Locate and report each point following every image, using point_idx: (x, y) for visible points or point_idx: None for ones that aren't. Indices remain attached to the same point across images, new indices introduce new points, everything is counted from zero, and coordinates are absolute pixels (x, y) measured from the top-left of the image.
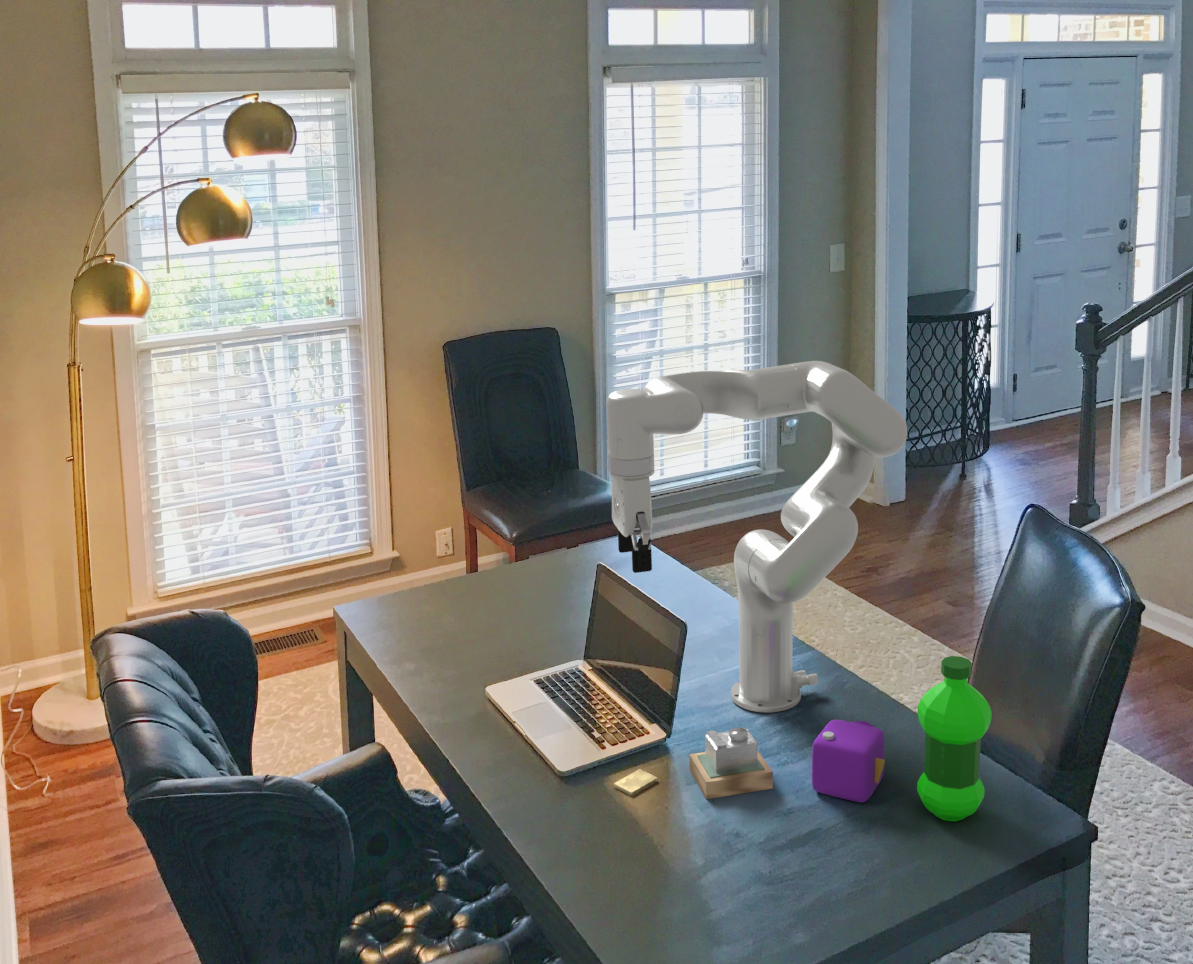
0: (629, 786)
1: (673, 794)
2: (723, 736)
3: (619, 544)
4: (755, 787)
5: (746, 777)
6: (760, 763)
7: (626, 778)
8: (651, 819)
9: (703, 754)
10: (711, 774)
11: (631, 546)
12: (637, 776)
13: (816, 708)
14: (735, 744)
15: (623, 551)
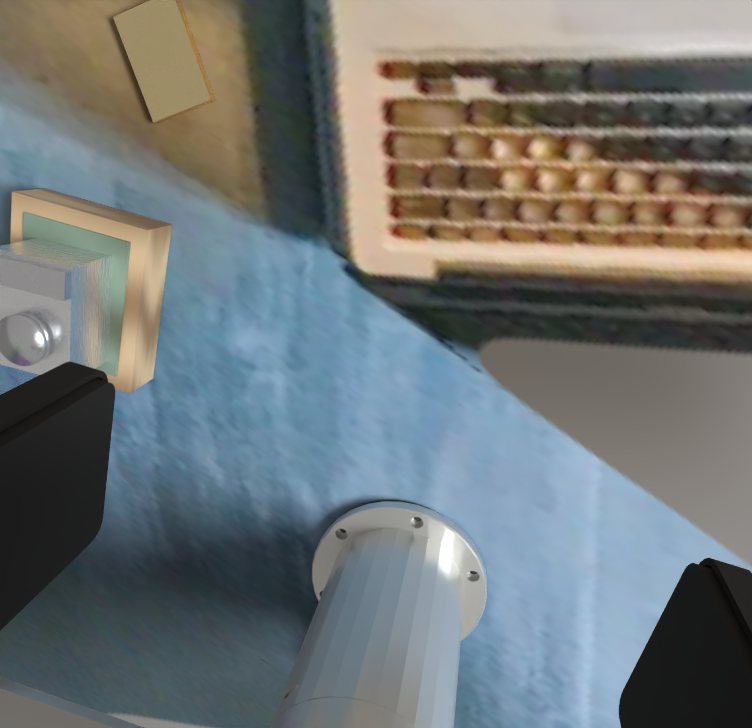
0: (141, 26)
1: (90, 127)
2: (47, 307)
3: (742, 627)
4: None
5: None
6: None
7: (180, 38)
8: (7, 15)
9: (127, 259)
10: (33, 222)
11: (651, 706)
12: (178, 74)
13: (295, 620)
14: (1, 309)
15: (676, 591)
